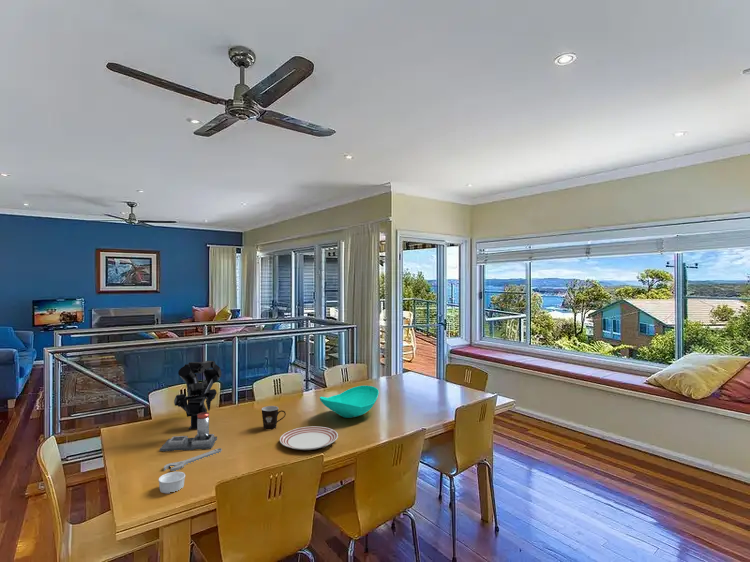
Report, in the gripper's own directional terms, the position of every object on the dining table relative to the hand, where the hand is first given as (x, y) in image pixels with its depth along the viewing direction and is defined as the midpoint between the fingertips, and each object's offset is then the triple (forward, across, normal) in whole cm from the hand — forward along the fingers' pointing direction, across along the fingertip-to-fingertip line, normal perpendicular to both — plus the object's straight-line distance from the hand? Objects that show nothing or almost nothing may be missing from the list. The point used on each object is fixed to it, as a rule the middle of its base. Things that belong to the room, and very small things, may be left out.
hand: (199, 412), depth 197 cm
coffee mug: (+14, +35, +4) cm, 38 cm away
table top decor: (+21, +78, -2) cm, 81 cm away
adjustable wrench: (+26, -9, -7) cm, 28 cm away
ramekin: (+39, -22, -20) cm, 49 cm away
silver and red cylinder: (+13, 0, +4) cm, 14 cm away
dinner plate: (+35, +40, -16) cm, 55 cm away
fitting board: (+12, -6, +6) cm, 15 cm away
